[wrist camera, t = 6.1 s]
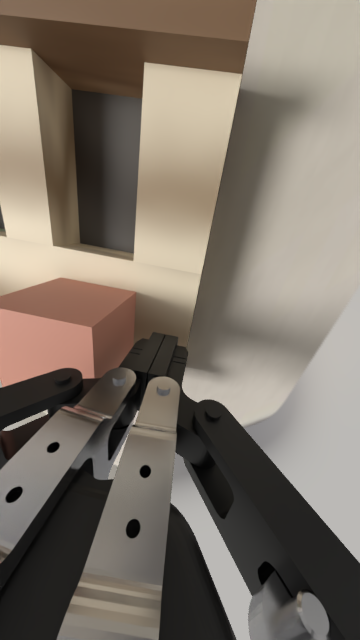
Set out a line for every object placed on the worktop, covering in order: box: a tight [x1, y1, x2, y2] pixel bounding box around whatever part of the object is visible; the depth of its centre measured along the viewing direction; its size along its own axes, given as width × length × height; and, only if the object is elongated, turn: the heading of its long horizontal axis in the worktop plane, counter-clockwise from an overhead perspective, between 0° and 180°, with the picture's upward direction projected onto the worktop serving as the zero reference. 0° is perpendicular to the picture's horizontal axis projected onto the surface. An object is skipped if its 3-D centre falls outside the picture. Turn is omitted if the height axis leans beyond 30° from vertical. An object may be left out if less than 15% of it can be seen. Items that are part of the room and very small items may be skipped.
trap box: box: [0, 0, 257, 348], centre depth 12 cm, size 18×21×6 cm
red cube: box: [0, 277, 136, 387], centre depth 11 cm, size 5×5×5 cm
